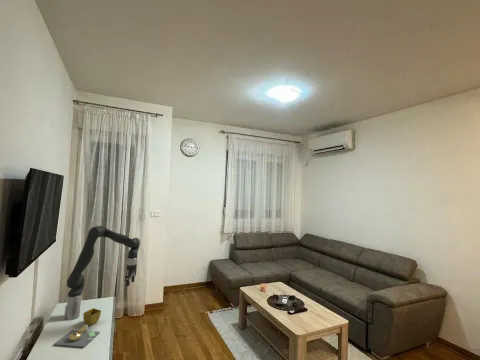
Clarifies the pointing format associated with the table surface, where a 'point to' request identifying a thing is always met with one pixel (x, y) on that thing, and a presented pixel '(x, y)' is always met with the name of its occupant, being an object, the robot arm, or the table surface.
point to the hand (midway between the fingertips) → (130, 284)
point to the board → (85, 340)
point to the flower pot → (91, 316)
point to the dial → (77, 334)
